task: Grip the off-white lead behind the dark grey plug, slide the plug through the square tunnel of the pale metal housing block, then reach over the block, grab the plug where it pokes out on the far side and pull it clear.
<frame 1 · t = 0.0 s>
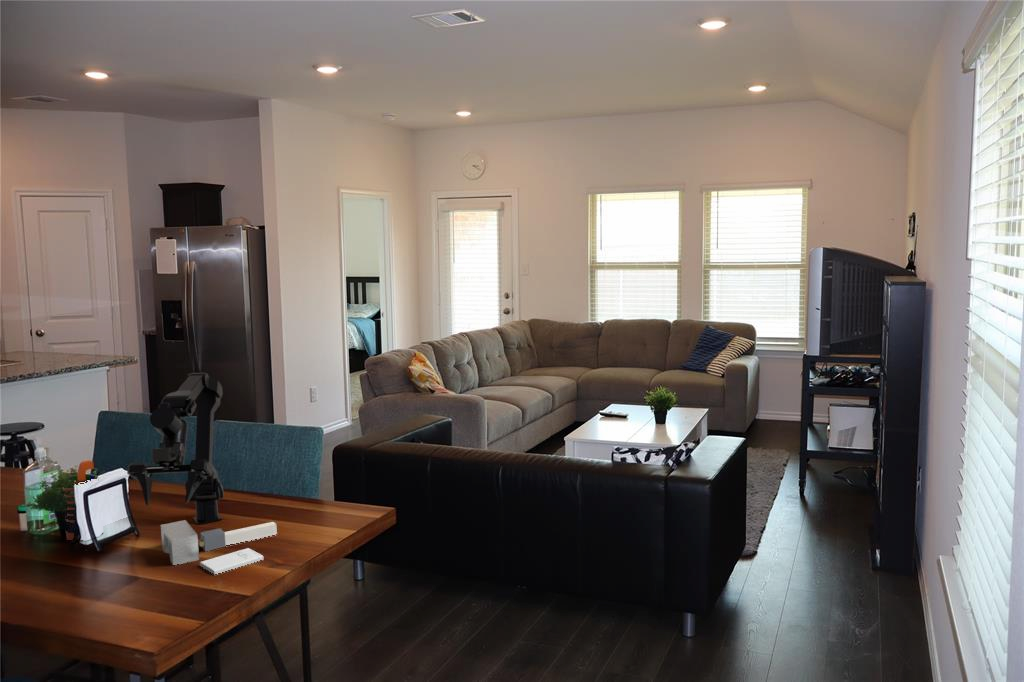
hand: (166, 503, 195), 15 cm above the table, tool tilted 35°, fingers open, 9 cm apart
external hard drive: (232, 565, 196), on the table
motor: (84, 536, 218), on the table
housing: (180, 554, 202), on the table
cable plug: (213, 547, 207), on the table
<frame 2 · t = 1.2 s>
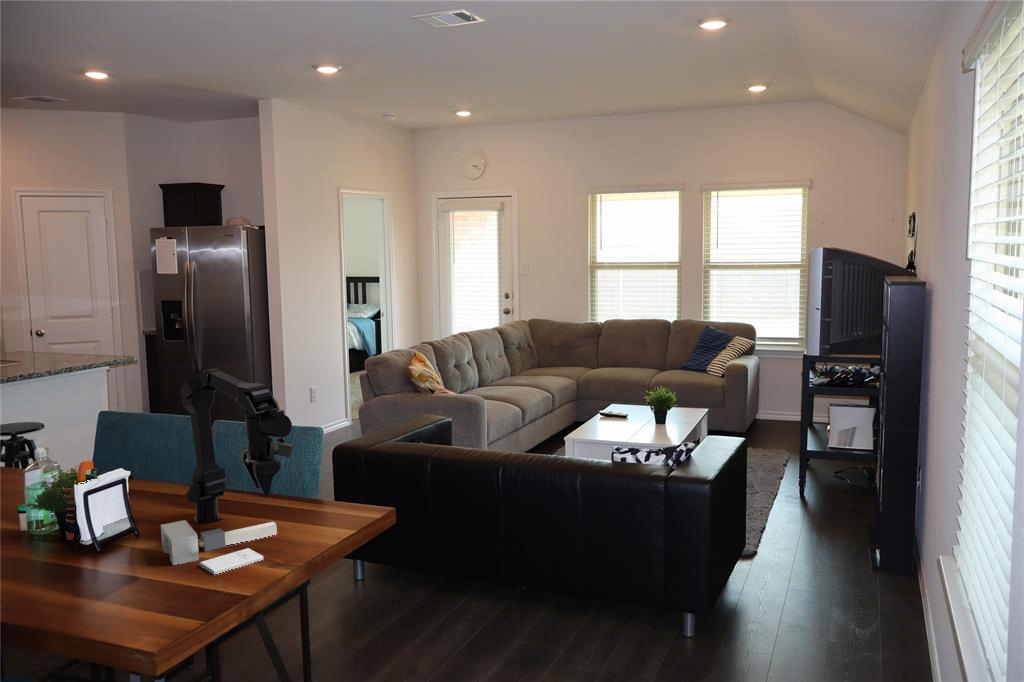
hand: (262, 491, 212), 12 cm above the table, tool pointing down, fingers open, 9 cm apart
nothing on the table moved.
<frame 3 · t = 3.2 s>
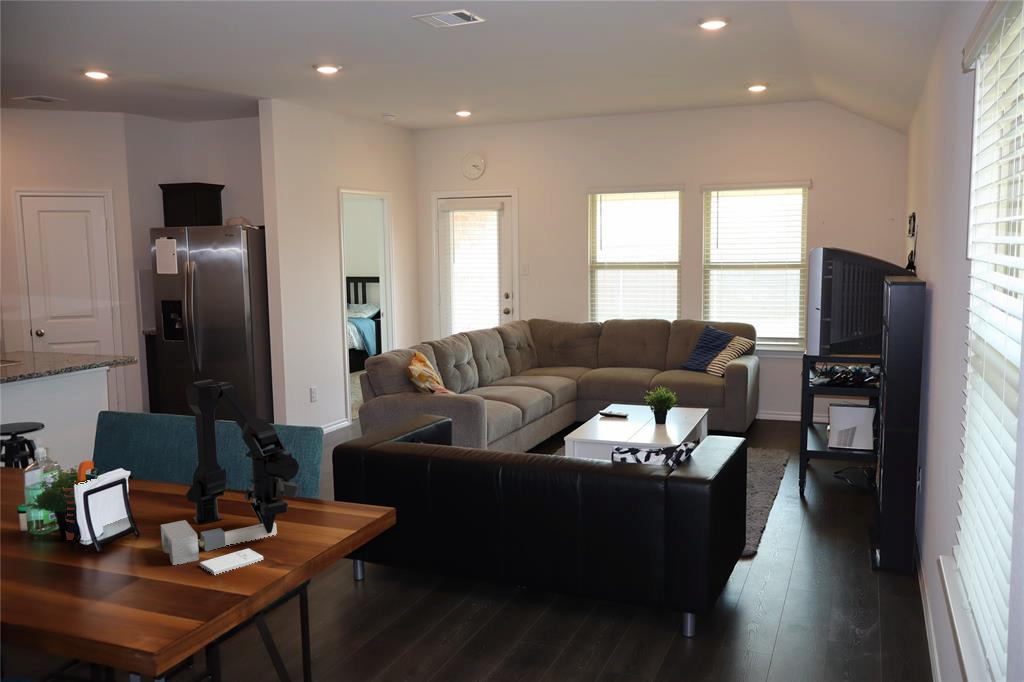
hand: (267, 531, 214), 1 cm above the table, tool pointing down, fingers closed on cable plug, 2 cm apart
cable plug: (213, 547, 207), on the table, touching gripper
everything else where it was.
when the fingers open (1 cm above the table, at t = 6.5 s): cable plug stays where it is, on the table.
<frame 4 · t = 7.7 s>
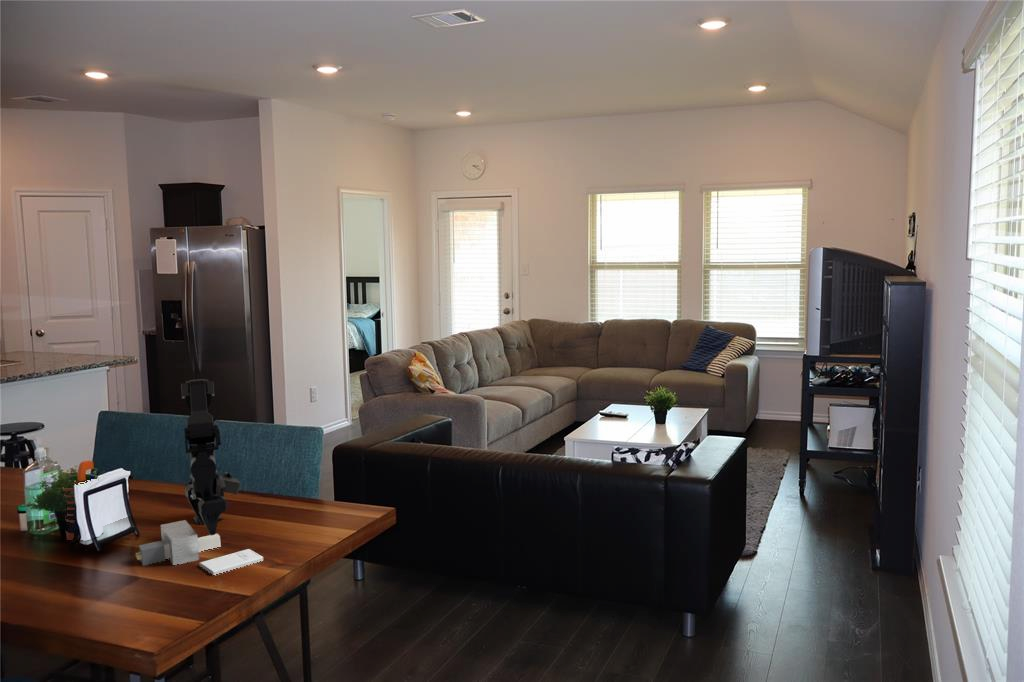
hand: (208, 529, 205), 5 cm above the table, tool pointing down, fingers open, 9 cm apart
cable plug: (152, 561, 199), on the table
everything else where it was.
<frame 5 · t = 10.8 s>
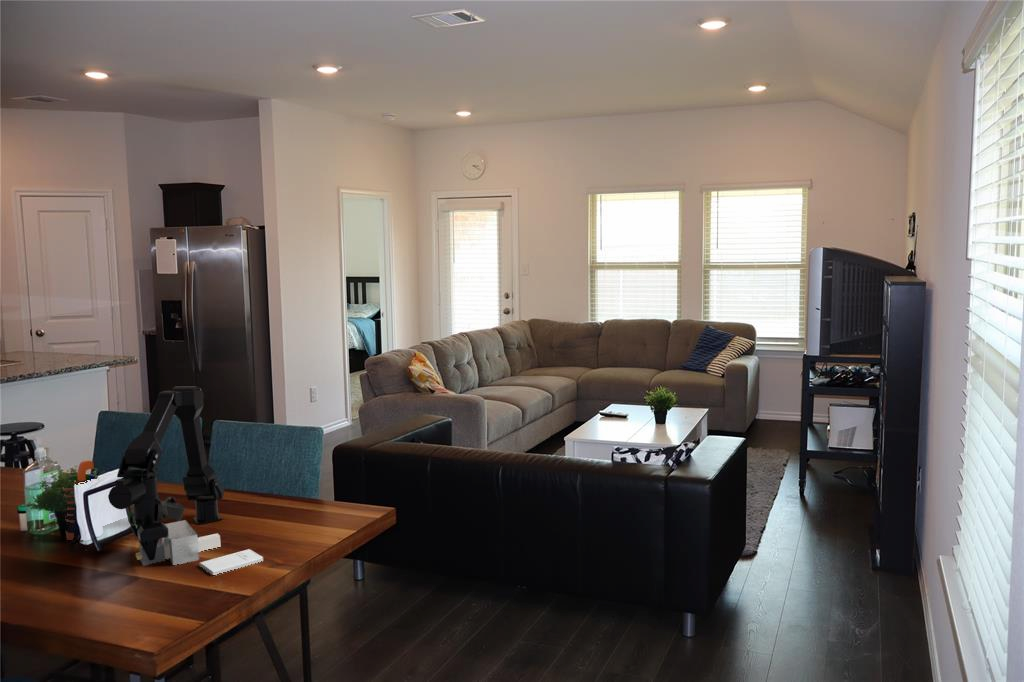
hand: (150, 557, 198), 1 cm above the table, tool pointing down, fingers closed on cable plug, 4 cm apart
cable plug: (152, 560, 199), on the table, touching gripper
everything else where it was.
when the fingers open (1 cm above the table, at t = 13.1 s): cable plug stays where it is, on the table.
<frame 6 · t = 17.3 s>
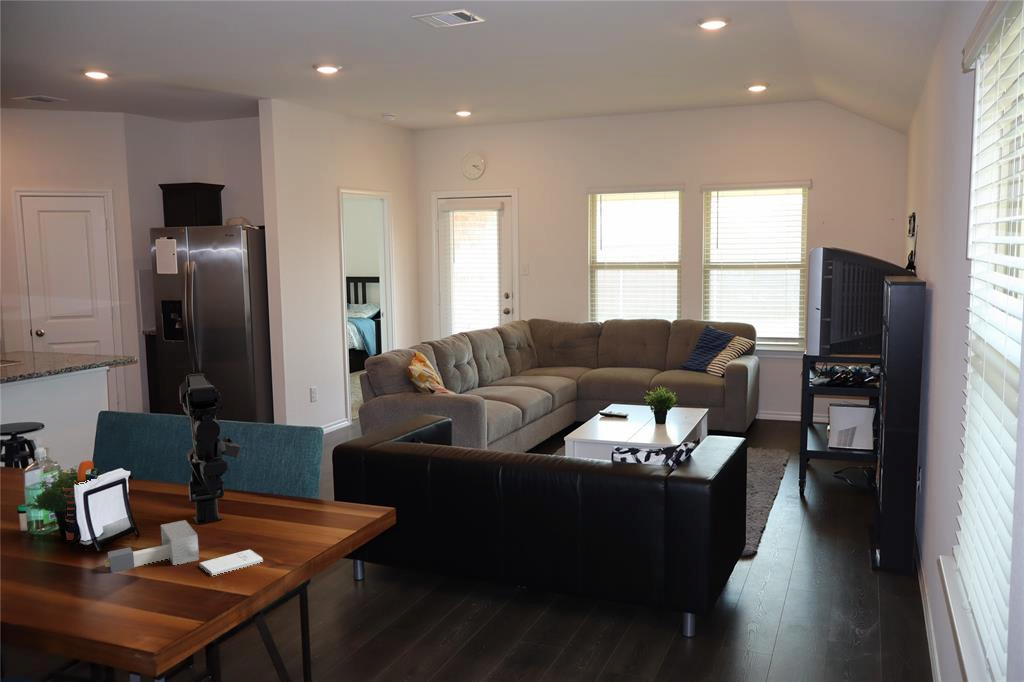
hand: (209, 491, 214), 12 cm above the table, tool pointing down, fingers open, 9 cm apart
cable plug: (121, 568, 195), on the table
everything else where it was.
at the end: cable plug inside the target area (1.1 cm from its centre), on the table; the gripper is holding nothing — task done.
